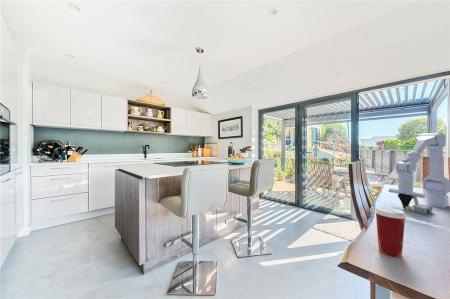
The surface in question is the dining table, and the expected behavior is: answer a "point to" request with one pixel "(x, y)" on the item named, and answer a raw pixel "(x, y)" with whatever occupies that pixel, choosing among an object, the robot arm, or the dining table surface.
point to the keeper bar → (415, 200)
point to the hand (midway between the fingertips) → (405, 207)
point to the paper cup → (390, 230)
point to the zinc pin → (410, 208)
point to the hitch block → (422, 209)
